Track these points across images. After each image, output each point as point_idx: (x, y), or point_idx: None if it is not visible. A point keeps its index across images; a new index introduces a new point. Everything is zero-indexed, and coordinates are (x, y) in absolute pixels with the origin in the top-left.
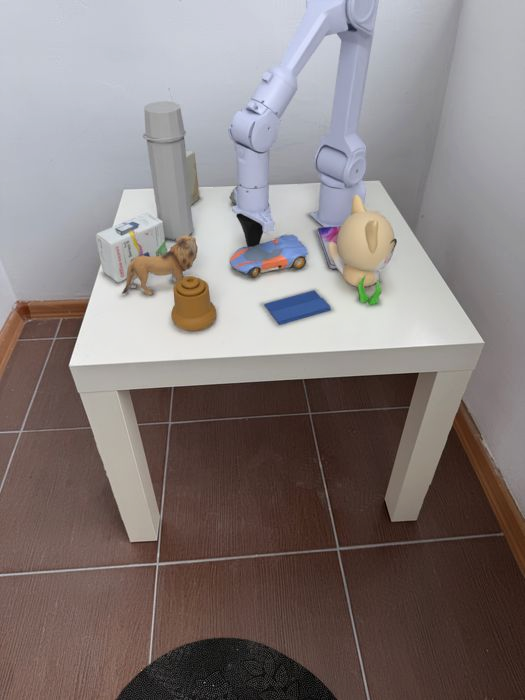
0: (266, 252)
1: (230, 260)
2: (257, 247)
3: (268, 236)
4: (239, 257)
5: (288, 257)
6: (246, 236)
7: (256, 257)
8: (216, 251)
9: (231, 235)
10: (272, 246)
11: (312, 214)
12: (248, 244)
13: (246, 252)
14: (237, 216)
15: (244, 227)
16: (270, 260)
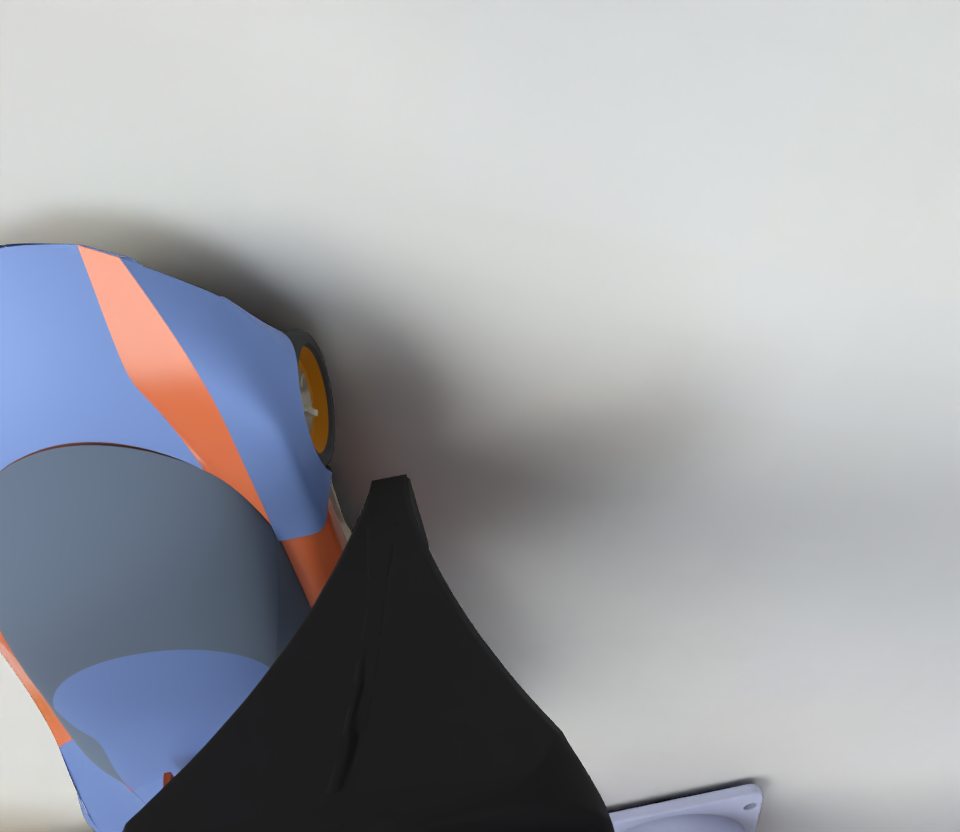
0: (52, 681)
1: (97, 259)
2: (180, 618)
3: (631, 592)
4: (96, 386)
5: (69, 762)
6: (351, 586)
7: (2, 572)
8: (551, 122)
9: (787, 344)
10: (152, 740)
11: (736, 800)
12: (360, 519)
13: (151, 487)
14: (464, 816)
15: (273, 731)
16: (9, 653)
